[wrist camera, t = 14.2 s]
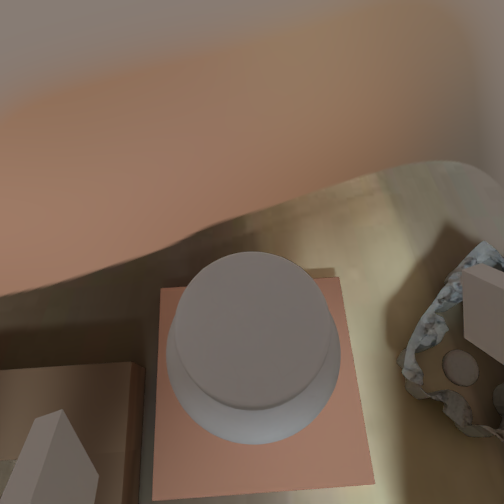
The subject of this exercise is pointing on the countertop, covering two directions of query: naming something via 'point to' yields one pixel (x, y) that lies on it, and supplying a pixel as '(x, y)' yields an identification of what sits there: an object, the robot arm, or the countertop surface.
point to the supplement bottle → (253, 349)
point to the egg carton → (456, 361)
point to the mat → (262, 455)
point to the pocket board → (82, 417)
